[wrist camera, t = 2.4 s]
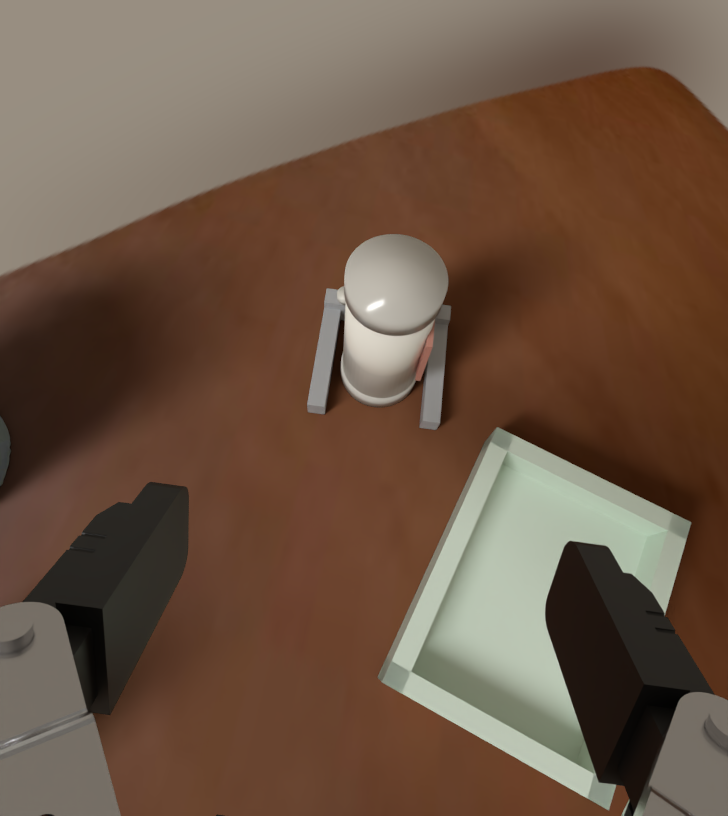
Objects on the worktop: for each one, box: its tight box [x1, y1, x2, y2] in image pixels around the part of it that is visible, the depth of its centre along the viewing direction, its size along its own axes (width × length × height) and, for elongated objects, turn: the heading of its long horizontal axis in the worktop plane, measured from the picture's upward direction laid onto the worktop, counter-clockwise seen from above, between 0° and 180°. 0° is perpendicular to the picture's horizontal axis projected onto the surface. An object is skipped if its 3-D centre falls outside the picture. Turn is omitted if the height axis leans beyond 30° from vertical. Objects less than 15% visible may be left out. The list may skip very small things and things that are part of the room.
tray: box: [378, 427, 691, 810], centre depth 28 cm, size 14×11×3 cm
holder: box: [307, 287, 451, 430], centre depth 33 cm, size 7×8×2 cm
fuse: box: [341, 234, 448, 407], centre depth 29 cm, size 5×5×10 cm
